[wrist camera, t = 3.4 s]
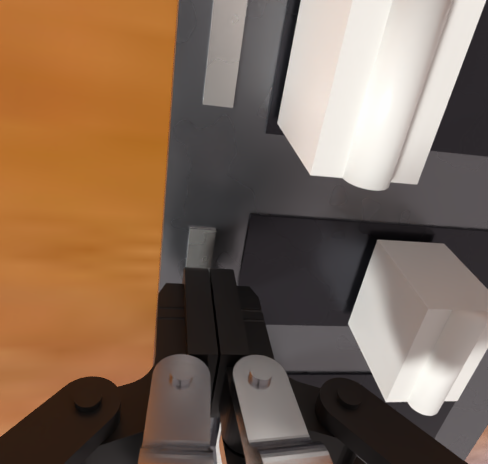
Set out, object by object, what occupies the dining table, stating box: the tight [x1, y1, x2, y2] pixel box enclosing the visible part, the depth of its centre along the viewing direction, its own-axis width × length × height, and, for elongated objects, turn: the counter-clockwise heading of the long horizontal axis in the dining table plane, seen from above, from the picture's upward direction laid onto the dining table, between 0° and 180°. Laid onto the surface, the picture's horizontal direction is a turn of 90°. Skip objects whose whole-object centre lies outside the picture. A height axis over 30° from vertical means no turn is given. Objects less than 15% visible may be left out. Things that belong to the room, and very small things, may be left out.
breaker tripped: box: [348, 240, 488, 416], centre depth 14 cm, size 4×2×4 cm, turn 171°
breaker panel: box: [153, 0, 488, 464], centre depth 17 cm, size 28×16×2 cm, turn 171°
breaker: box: [277, 0, 486, 191], centre depth 10 cm, size 4×2×4 cm, turn 171°
